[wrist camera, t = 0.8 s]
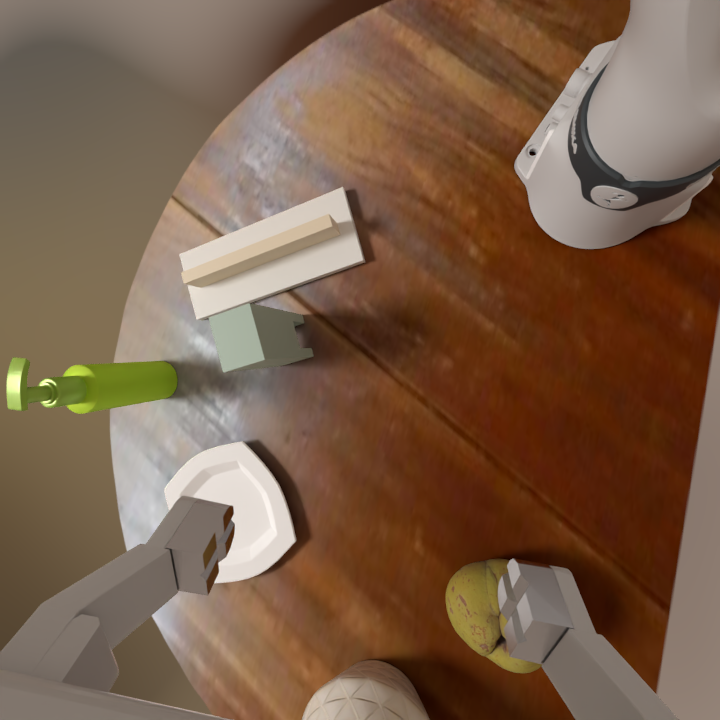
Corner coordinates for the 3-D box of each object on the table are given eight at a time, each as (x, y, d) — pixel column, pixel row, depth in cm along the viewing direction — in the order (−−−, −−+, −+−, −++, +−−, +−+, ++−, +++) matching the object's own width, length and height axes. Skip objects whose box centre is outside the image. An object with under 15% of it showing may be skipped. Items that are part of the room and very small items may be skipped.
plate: (216, 591, 56) (208, 599, 54) (159, 479, 58) (149, 483, 56) (317, 540, 52) (312, 548, 50) (252, 421, 54) (245, 424, 52)
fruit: (493, 518, 46) (505, 564, 36) (566, 593, 44) (599, 662, 35) (430, 571, 48) (425, 628, 39) (497, 644, 47) (509, 723, 37)
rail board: (345, 190, 49) (334, 174, 45) (365, 262, 49) (356, 253, 44) (185, 256, 55) (161, 248, 51) (202, 320, 55) (179, 317, 50)
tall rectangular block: (302, 314, 51) (249, 303, 38) (313, 356, 51) (264, 359, 37) (270, 325, 52) (208, 317, 39) (281, 366, 52) (223, 372, 39)
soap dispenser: (178, 355, 56) (36, 360, 37) (176, 400, 56) (33, 429, 37) (146, 352, 57) (-8, 355, 38) (144, 396, 58) (-10, 421, 38)
